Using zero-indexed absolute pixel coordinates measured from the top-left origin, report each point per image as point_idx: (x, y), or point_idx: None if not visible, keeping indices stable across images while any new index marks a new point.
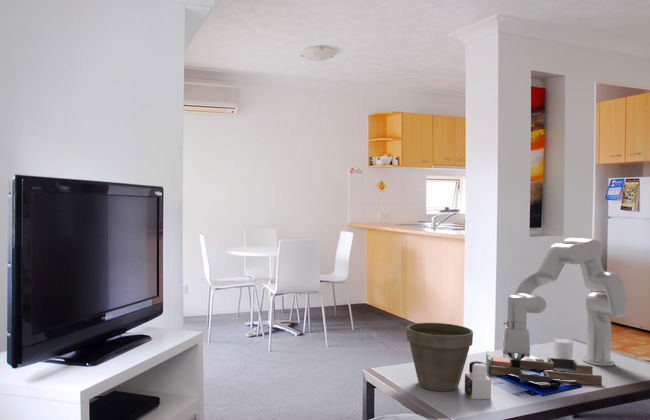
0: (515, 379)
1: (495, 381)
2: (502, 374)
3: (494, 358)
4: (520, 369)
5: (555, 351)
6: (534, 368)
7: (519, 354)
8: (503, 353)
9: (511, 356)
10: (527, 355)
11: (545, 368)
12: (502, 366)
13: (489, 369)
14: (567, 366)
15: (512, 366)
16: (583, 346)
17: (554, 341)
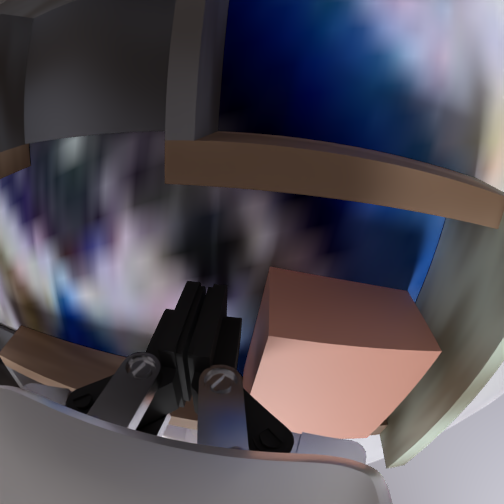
0: (260, 58)
1: (453, 3)
2: (381, 152)
3: (383, 409)
4: (166, 114)
5: None
6: (90, 355)
7: (120, 421)
8: (355, 445)
9: (243, 413)
10: (43, 391)
11: (41, 344)
12: (345, 311)
13: (498, 191)
14: (7, 369)
15: (239, 318)
16: None
17: None
